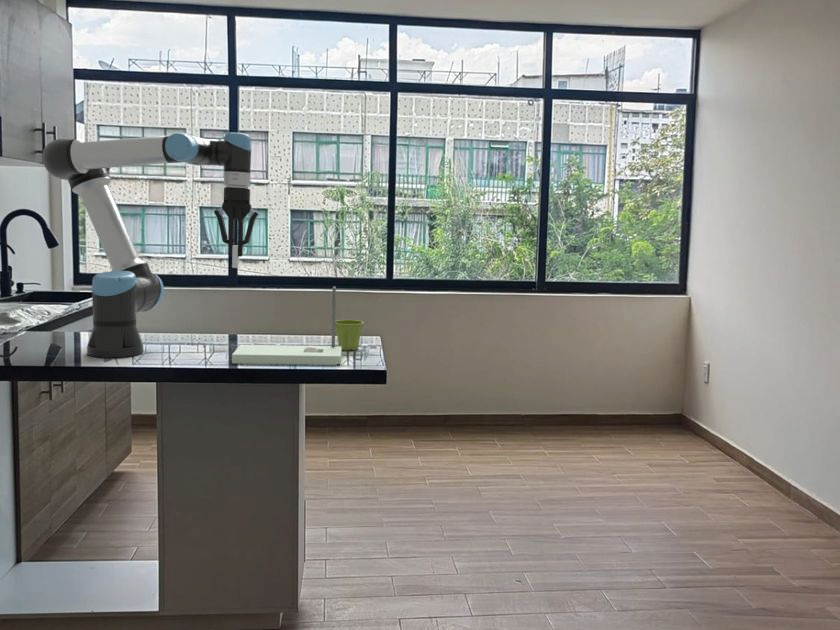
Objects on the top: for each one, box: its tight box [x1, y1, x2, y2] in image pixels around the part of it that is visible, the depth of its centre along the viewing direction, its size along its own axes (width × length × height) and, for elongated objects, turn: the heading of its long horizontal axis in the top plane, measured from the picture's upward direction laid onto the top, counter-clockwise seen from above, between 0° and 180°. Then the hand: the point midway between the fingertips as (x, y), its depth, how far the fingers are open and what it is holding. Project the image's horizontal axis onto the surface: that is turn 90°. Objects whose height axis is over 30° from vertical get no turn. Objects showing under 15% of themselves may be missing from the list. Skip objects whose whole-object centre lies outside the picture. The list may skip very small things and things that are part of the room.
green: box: [231, 286, 343, 366], centre depth 222 cm, size 30×20×20 cm, turn 95°
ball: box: [304, 345, 318, 353], centre depth 222 cm, size 4×4×4 cm
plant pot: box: [335, 319, 364, 351], centre depth 240 cm, size 9×9×9 cm
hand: (235, 267), depth 227 cm, fingers closed
